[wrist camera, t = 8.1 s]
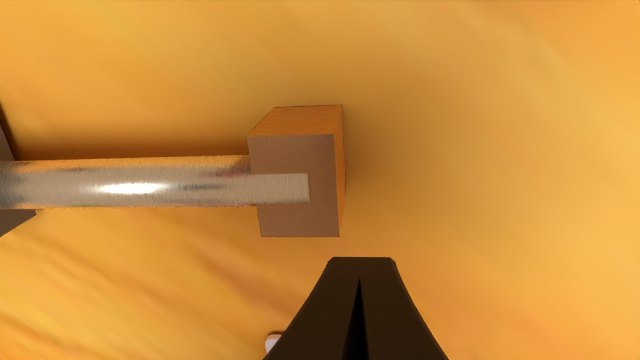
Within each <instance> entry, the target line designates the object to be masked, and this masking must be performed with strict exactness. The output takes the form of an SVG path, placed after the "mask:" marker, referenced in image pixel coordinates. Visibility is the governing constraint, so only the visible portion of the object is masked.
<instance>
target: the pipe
mask: <svg viewBox="0 0 640 360" xmlns="http://www.w3.org/2000/svg"><path fill="white" fill-rule="evenodd" d="M247 144H248V150H249V155H223V156H186V157H149V158H112V159H75V160H38V161H0V209H91V208H206V207H257V211H258V218H259V224H260V231H261V237H340V230H341V223H342V215H343V207H344V200H345V192H346V180H345V159H344V138H343V117H342V105H322V106H299V107H276V108H273V109H272V110H271V111H270V112H269V114H268V115H267V116H266V117H265V118H264V119H263V120H262V121H261V122H260V123H259V124H258V125H257V126H256V127H255V128H254V129H253V130H252V131H251V132H250V133H249V135H248V136H247Z"/></svg>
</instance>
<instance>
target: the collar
mask: <svg viewBox="0 0 640 360" xmlns="http://www.w3.org/2000/svg"><path fill="white" fill-rule="evenodd" d="M0 161H15V160H14V158H13V155H12V153H11V150H10V148H9V145H8V143H7V140H6V138H5V135H4V133H3V130H2V128H1V125H0ZM35 215H36V212H35V210H34V209H0V237H1V236H2V235H4V234H6V233H7V232H9V231H11V230H12V229H14V228H15V227H17V226H19V225H20V224H22V223H23V222H25V221H27V220H28V219H30V218H31V217H33V216H35Z"/></svg>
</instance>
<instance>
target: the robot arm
mask: <svg viewBox="0 0 640 360" xmlns="http://www.w3.org/2000/svg"><path fill="white" fill-rule="evenodd" d="M265 347H266V353H267V355H266V356H265V357H264V359H263V360H449V359H448V358H447V356H446V355H445V353H444V352H443V350H442V349H441V347H440V346H439V344H438V343H437V341H436V340H435V338H434V337H433V335H432V333H431V332H430V330H429V328H428V327H427V325H426V323H425V322H424V320H423V318H422V317H421V315H420V313H419V312H418V310H417V308H416V306H415V305H414V303H413V301H412V299H411V297H410V295H409V293H408V291H407V289H406V287H405V285H404V283H403V281H402V279H401V277H400V274H399V272H398V269H397V266H396V263H395V261H393V260H392V259H391V258H390V257H333V258H332V259H330V260H329V261H328V263H327V265H326V267H325V269H324V271H323V273H322V275H321V277H320V278H319V280H318V282H317V284H316V285H315V287H314V289H313V290H312V292H311V293H310V295H309V297H308V298H307V300H306V301H305V303H304V304H303V306H302V307H301V309H300V310H299V312H298V313H297V315H296V316H295V317H294V319H293V320H292V322H291V323H290V325H289V326H288V328H287V329H286V330H285V332H284V333H283V334H282V335H278V334H273V335H269V336H268V337H267V339H266V342H265Z"/></svg>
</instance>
